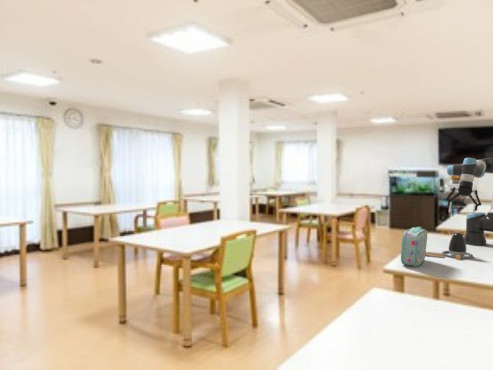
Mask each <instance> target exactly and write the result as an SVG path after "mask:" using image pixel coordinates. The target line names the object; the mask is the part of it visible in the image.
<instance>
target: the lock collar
mask: <svg viewBox="0 0 493 370" xmlns="http://www.w3.org/2000/svg"><path fill="white" fill-rule="evenodd" d="M441 253H442V254H443V255H444V258H445V257H446V258H449V259H455V260H458V261H460V260H472V259H474V255H473V254H472V253H469V252H466V253H465V255H466V256H462V257H461V256H459V255H456V256H453V255H451V254H450V252H449V250H443V251H442V252H441Z"/></svg>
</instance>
